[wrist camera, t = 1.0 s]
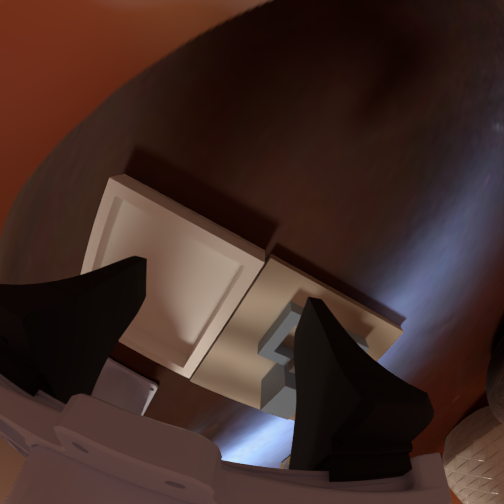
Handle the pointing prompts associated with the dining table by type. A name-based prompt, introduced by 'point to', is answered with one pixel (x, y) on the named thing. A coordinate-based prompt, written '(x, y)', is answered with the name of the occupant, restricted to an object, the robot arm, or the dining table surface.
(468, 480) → the vase
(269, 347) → the grey blocky piece
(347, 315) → the tan square tile
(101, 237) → the tray
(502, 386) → the glass ball
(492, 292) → the dining table surface
